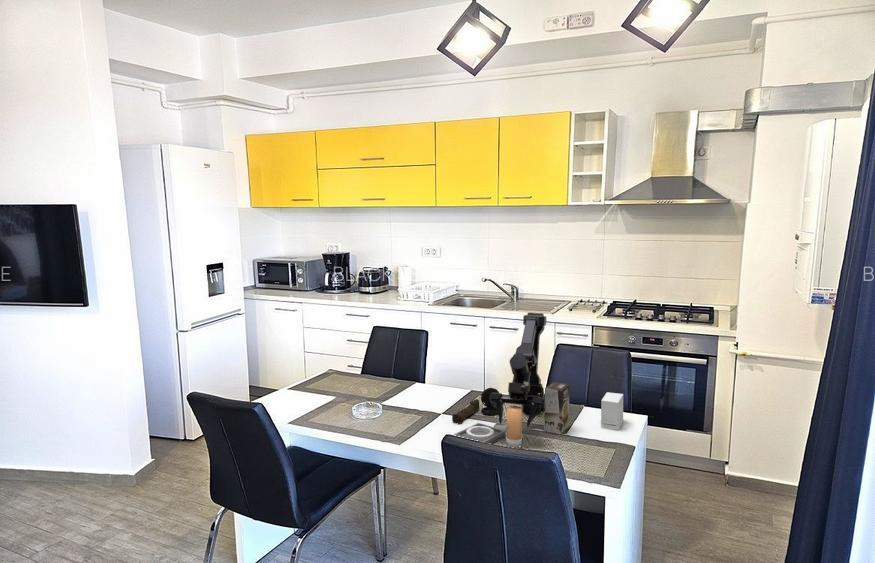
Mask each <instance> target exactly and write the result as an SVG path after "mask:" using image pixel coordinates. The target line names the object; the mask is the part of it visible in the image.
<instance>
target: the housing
mask: <svg viewBox="0 0 875 563" xmlns="http://www.w3.org/2000/svg"><path fill="white" fill-rule="evenodd" d="M454 435H456V436H460V437H464V438H468V439H473V440H478V441H481V442H485V443H491V445H493V444H494V443H496V442H498V441H500V440H502V439H504V438H505V436H506V437H507V430H504V429H500V428H497V427H496V426H495V427H494V426H491V425H488V424H485V423H480V422H477V423H475V424H472V425H471V426H468V427H467V428H465V429H462V430H460V431H459V432H455V433H454V434H453V436H454ZM503 437H504V438H503ZM501 438H502V439H501ZM499 439H500V440H499ZM497 440H498V441H497ZM495 441H496V442H495Z"/></svg>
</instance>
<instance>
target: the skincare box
mask: <svg viewBox="0 0 875 563" xmlns="http://www.w3.org/2000/svg"><path fill="white" fill-rule="evenodd" d="M600 405H601V406H600V407H601V408H600V410H601V412H600V416H601V418H600V427H601V429H602V428H603V429H609V430H615V431H619V430H620V428H621V426H622V424H623V422H624V393H617V392H616V393H615V392H608V391H607V392H606V393H605V394H604V396H603V397H602V399H601V404H600Z"/></svg>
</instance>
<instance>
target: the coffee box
mask: <svg viewBox="0 0 875 563" xmlns="http://www.w3.org/2000/svg"><path fill="white" fill-rule="evenodd" d="M544 399H545V403H546V410H545V412H543V413H544V415H543V417H544V420H543V422H544V423H543V425H544V426H543V427H544V428H543V431H544V432H546V431H547V432H548V433H552V434H555V433H556V435H561V434H562V433H564V431H566V430H567V429H568V428H569V427H570V425H569V424H570V423H569V422H570V383H564V382H555V381H553V382H551V384H549V385H547V386H546V387H544Z"/></svg>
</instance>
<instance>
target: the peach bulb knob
mask: <svg viewBox="0 0 875 563" xmlns="http://www.w3.org/2000/svg"><path fill="white" fill-rule="evenodd" d="M522 429H523V411H522V408H521V406H518V405H509V406H507V407H506V447H507V446H509V447H514V448H518V449H521V448H522V447H519V446H521V445H522V444H523V443H522V442H523V439H522V438H523V437H522V436H523V435H522V434H523V432H522Z"/></svg>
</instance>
